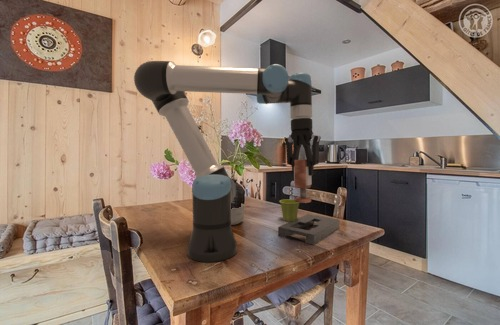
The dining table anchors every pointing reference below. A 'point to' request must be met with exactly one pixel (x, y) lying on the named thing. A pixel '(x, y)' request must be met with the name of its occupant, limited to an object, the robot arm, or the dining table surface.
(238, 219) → the teacup
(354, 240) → the dining table surface
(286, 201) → the plant pot
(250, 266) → the dining table surface
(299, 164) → the peg
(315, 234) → the slot bracket
